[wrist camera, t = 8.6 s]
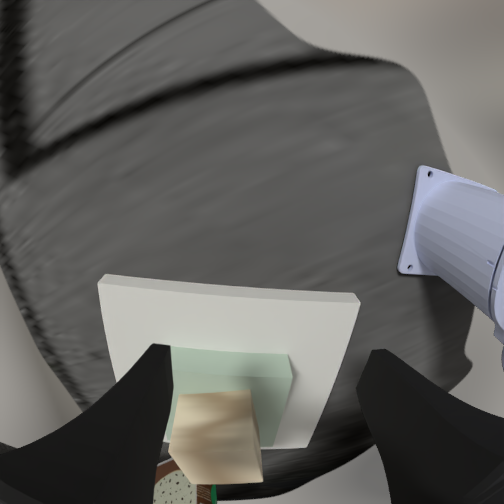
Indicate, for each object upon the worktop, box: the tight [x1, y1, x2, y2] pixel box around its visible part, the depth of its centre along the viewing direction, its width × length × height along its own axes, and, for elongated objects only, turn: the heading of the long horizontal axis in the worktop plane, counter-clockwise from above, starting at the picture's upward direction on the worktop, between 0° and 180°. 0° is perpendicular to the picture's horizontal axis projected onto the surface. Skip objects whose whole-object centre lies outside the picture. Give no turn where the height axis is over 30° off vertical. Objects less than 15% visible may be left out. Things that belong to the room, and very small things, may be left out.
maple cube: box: [168, 389, 263, 484], centre depth 17 cm, size 5×5×5 cm
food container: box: [153, 458, 217, 504], centre depth 24 cm, size 12×6×10 cm, turn 136°
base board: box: [98, 274, 361, 449], centre depth 21 cm, size 18×18×4 cm
